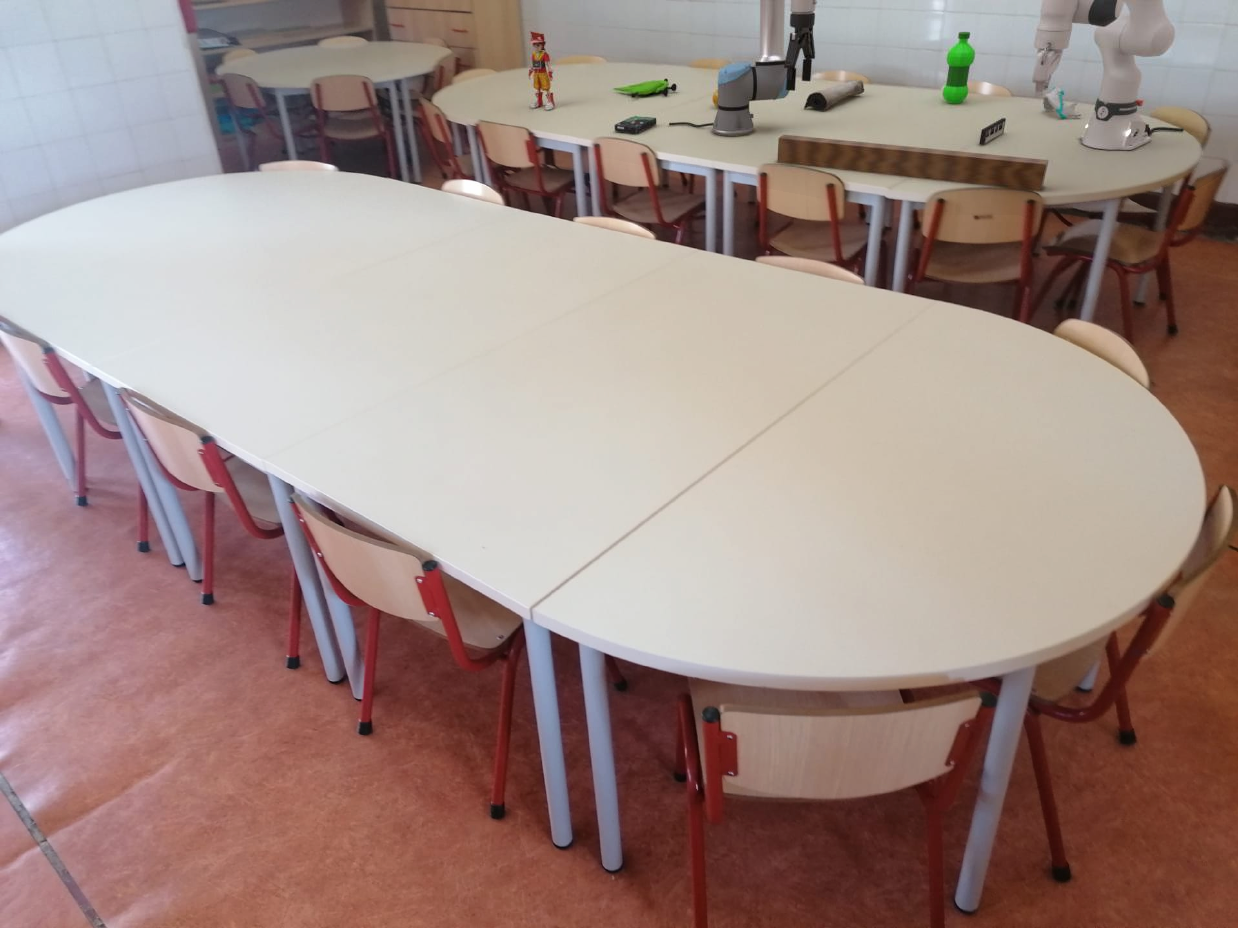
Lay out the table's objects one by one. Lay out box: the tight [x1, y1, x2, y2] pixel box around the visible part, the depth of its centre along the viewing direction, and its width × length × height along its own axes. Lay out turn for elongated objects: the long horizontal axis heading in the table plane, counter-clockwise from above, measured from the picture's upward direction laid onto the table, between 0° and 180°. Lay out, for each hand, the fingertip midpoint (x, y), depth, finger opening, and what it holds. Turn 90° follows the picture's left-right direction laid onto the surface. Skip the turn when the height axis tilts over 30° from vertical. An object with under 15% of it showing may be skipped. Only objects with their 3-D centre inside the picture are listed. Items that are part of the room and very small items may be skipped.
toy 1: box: [527, 31, 556, 111], centre depth 374 cm, size 12×9×30 cm
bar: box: [776, 134, 1050, 192], centre depth 283 cm, size 83×5×8 cm, turn 59°
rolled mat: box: [803, 79, 865, 112], centre depth 362 cm, size 30×9×10 cm
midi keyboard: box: [978, 117, 1007, 146], centre depth 310 cm, size 18×1×5 cm, turn 138°
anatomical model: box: [1042, 87, 1082, 119], centre depth 330 cm, size 15×10×10 cm
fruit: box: [712, 89, 718, 108], centre depth 365 cm, size 8×8×8 cm
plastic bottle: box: [942, 31, 976, 104], centre depth 348 cm, size 10×10×25 cm
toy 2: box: [612, 78, 677, 99], centre depth 396 cm, size 28×5×30 cm
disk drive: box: [614, 115, 657, 135], centre depth 346 cm, size 10×3×15 cm
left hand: (798, 85), depth 288 cm, fingers open, 13 cm apart
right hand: (1040, 93), depth 254 cm, fingers open, 8 cm apart
